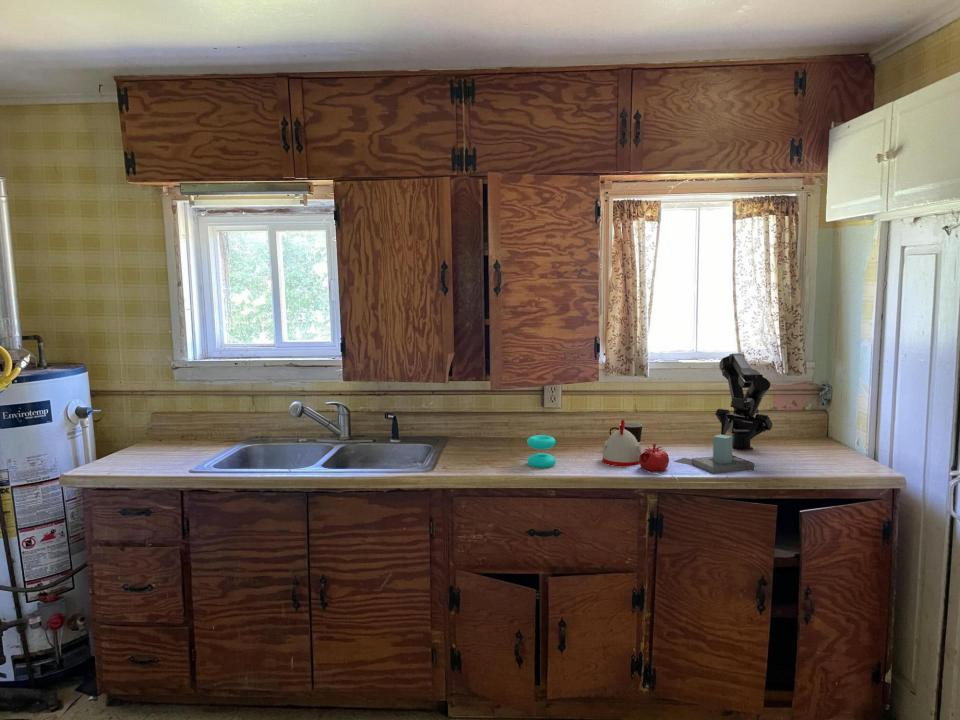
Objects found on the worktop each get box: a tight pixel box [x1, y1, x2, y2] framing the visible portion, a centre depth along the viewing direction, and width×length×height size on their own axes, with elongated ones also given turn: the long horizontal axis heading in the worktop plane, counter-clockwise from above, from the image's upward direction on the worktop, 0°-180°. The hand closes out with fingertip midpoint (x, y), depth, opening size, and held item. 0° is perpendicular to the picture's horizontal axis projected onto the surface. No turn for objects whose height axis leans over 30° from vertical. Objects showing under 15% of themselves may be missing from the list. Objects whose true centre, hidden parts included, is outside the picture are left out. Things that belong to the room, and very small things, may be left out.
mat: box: [673, 457, 693, 466], centre depth 221 cm, size 7×7×1 cm
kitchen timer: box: [602, 419, 643, 467], centre depth 223 cm, size 14×14×15 cm
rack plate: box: [691, 454, 755, 475], centre depth 213 cm, size 12×16×3 cm
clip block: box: [712, 433, 733, 464], centre depth 212 cm, size 4×4×11 cm
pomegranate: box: [639, 443, 670, 473], centre depth 212 cm, size 10×10×9 cm
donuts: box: [526, 434, 557, 469], centre depth 220 cm, size 10×10×10 cm
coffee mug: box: [609, 422, 643, 443], centre depth 240 cm, size 12×9×10 cm
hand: (734, 438), depth 217 cm, fingers open, 9 cm apart
